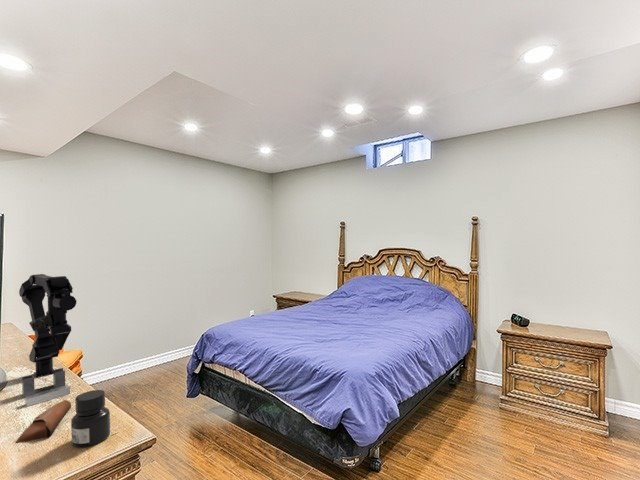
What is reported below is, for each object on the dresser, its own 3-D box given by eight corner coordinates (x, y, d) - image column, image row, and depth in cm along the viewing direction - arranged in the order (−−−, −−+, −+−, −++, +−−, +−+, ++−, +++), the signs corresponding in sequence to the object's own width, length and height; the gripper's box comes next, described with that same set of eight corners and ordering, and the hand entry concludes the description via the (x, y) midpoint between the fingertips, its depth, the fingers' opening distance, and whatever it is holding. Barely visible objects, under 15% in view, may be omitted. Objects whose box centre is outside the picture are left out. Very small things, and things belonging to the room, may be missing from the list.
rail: (25, 405, 118) (25, 396, 118) (67, 392, 128) (67, 384, 128) (27, 407, 117) (27, 399, 117) (70, 394, 126) (69, 386, 126)
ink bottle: (67, 439, 96) (66, 395, 96) (103, 426, 103) (102, 385, 103) (77, 453, 90) (76, 406, 90) (115, 438, 96) (114, 394, 96)
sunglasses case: (39, 413, 111) (52, 393, 112) (62, 421, 113) (74, 401, 114) (13, 444, 94) (28, 420, 95) (41, 452, 96) (55, 428, 98)
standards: (22, 394, 127) (22, 376, 127) (63, 383, 135) (62, 367, 135) (23, 397, 123) (23, 380, 123) (65, 387, 132) (64, 370, 132)
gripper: (28, 308, 140) (29, 347, 140) (33, 314, 126) (34, 358, 126) (62, 304, 147) (63, 341, 148) (71, 309, 134) (72, 350, 134)
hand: (58, 347), depth 139 cm, fingers open, 9 cm apart
